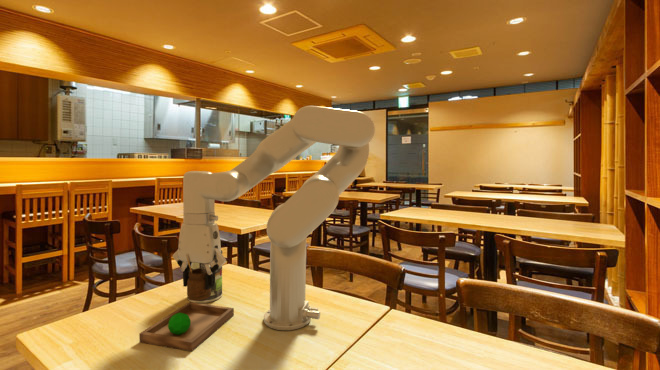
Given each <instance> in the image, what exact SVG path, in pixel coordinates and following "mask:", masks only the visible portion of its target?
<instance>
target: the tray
mask: <svg viewBox="0 0 660 370" xmlns="http://www.w3.org/2000/svg"><path fill="white" fill-rule="evenodd" d="M234 311H235V310H234V307H227V306H221V305H213V304H207V303H193V302H190V301H189V302H187V303H186V304H184V305H182V306H181V307H178V309H176V310H174V311H173V312H171V313H170V314H168V315H166V316H165V317H163V318H161V319H160V320H159V321H157V322H154V324H152V325H151V326H149V327H147V328H146V329H144V330H143V331H141V332H139V335H138V336H139V343H141V344H148V345H151V346H152V345H153V346H159V347H165V348H169V349H174V350H180V351H182V350H183V351H186V352H193V351H194V350H196V349H197V348H198V347H199V346H200V345H201V344H202V343H204V342H205V341H206V340H207V339H208V338H210V337H211V336H212V335H213V334H214V333H215V332H216V331H218V330H219V329H220V328H221V327H222V326H223V325H225V323H226V324H227V322H229V320H230V319H231V318H232V317H234V315H235V314H234V313H235V312H234ZM177 313H184V314H187V315H188V316H189V318H190V320H191V323H190V327H189V329H188V330H187V331H186V332H185V333H183V334H180V335H177V334H174V333H171V332H170V330H169V329H168V323H169V320H170V318H171V317H172V316H173V315H175V314H177Z"/></svg>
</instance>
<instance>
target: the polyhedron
mask: <svg viewBox="0 0 660 370" xmlns="http://www.w3.org/2000/svg"><path fill="white" fill-rule="evenodd" d="M190 323H191V320H190V318H189V316H188V315H187V314H184V313H177V314H175V315H173V316H172V317H171V318H170V320H169V323H168V329H169V330H170V332H171V333H174V334H177V335H180V334H183V333H185V332H186V331H187V330H188V329H189V327H190Z"/></svg>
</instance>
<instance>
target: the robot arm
mask: <svg viewBox="0 0 660 370" xmlns="http://www.w3.org/2000/svg"><path fill="white" fill-rule="evenodd" d="M375 131H376V127H375V123H374V121H373V120H372V118H371V117H370V116H369V115H368V114H366V113H365V112H363V111H358V110H350V109H342V108H333V107H326V106H320V105H319V106H318V105H306V106H305V105H304V106H303V107H301V108H299V109H298V110H297V111H296V112H295V113H294V115H293V118H291V119H290V120H289V121H287V122H286V123H285V124H283V125H282V126H281V127H280V128H278V129H277V130H275V131H274V132H272V133H270V134H269V135H268V136H267V137H265V138H264V139H263V140H261V141H260V143H259V144H258V145H257V147H256V148H255V150H254V151H253V152H252V153H251V154H250V155H249V156H248V157H247V158H245V159H244V160H243V161H242V162H240V163H239V164H237V165H236V166H235V167H232V168H231V169H230V170H226V171H221V172H211V171H206V170H201V171H199V170H191V171H187V172H185V173H184V174H183V183H182V185H183V190H182V191H183V192H182V194H183V196H182V198H183V201H182V202H183V203H182V205H183V209H182V210H183V212H182V213H183V215H182V216H183V217H182V218H183V220H182V222H183V223H181V226H180V229H179V237H178V249H177V250H176V251H175V252H174V253H173V254H172V258H173V259H174V260H175V262H176V263H177V265H178V266H179V268H180V271H181V272H182V282H183V285H182V286H183V287H185V288H187V281H188V278H189V271H190V268H189V265H188V261H187V257H188V260H189V263H190V267H191V266H192V263H202V264H205V267H206V270H207V273H208V274H206V275H205V289H206V290H209V289H210V288H212V287H213V286H214V285H215V272H216V271H217V270H218V269H219V268H220V267H221V266H222V267H223V265H224V264H226V262H227V259H226V257H225V256H224V255H223V253H222V254H221V250H222V247H221V234H220V230H219V225H218V223H215V222H217V221H218V220H219V216H218V215H216V212H215V203H216V202H215V201H220V202H231V201H232V202H233V201H234V200H236V199H238V198H239V197H240V198H241V196H243V195H245V194H246V193H247V192H248V191H250V190H251V189H253V188H254V187H256V186H257V185H258V184H260V183H261V182H262V181H263V180H265V179H266V178H268V177H269V176H270V175H272V174H273V173H275V172H278V171H279V170H280V169H282V168H283V167H285V166H286V165H287V164H289V163H290V162H292V161H293V160H294V159H295V158H297V157H298V156H299V155H301V154H302V153H303V152H305V151H307V150H308V149H309V148H311V147H312V146H313V145H314V144H316V143H319V144H329V145H335V146H338V149H337V150H336V153H335V154H333V156H332V157H330V159H329V160H328V161H327V162H326V163H325V164H323V166H322V167H321V168H320V169H319V170H318V171H316V173H314V174H313V175H312V176H311V177H309V178H308V179H306V180H305V181H304V182H303V184H302V186H301V187H300V188H299V189H297V190H296V191H295V192H294V194H292V196H290V197H289V198H288V199H287V200H286V201H285V202H284V203H282V204H279V205H277V207H275V209H274V210H273V211H272V213H271V214H270V216H269V218H268V220H267V222H266V235H267V236H268V239H269V241H270V248H269V249H270V251H269V253H270V255H269V257H270V258H269V262H270V264H269V310H267V311H266V312H265V313H264V314H263V323H264V324H265V326H267V327H269V328H271V329H273V330H277V331H294V330H298V329H301V328H303V327H306V326H307V325H308V324H309V323H310V322H311V320H312V319H313V320H320V318H321V311H319V308H318V307H311V306H309V301H308V300H306V286H307V285H306V283H307V282H306V280H307V279H306V277H307V275H306V274H307V273H306V272H307V237H308V236H309V235H310V234H312V233H313V231H315V230H316V229H317V228H318V227H319V226H320V225H321V224H322V223H323V222H324V221H325V220H326V219H328V217H329V216H330V215H331V214H332V213H333V212H334V211H335V209H336V208H337V206H338V204H339V200H340V195H342V193H344V191H345V190H347V189H348V188H349V186H350V185H351V184H353V182H355V180H356V179H357V178H358V177H359V176H360V175H361V174H362V172H363V171H364V169H365V167H366V165H367V162H368V159H369V155H370V142H371V141H372V139H374V138H373V137H374V135H375ZM186 254H187V257H186ZM215 260H218V262H217V263H215ZM210 265H211V266H210ZM191 270H193V268H191Z"/></svg>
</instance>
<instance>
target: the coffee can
mask: <svg viewBox="0 0 660 370" xmlns="http://www.w3.org/2000/svg"><path fill="white" fill-rule="evenodd" d="M221 254H222V255H223V250H222V249H221ZM217 262H218V260H215V263H217ZM201 264H202V263H192V266H191V268H193V269H197V268H201ZM210 266H211V265H210ZM204 267H205V264H204V265H203V264H202V268H204ZM205 268H206V267H205ZM222 297H223V265H222V266H221V267H220V268H219V269H218V270H217V271H216V272H215V285H214V286H213V287H212V288H211V295H210V297H209V298H207V299H205V300H200V301H192V300H189V299H188V298H187V300H188V301H189V302H193V303H201V304H207V303H211V302H214V301H218V300H219V299H221V298H222Z"/></svg>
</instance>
